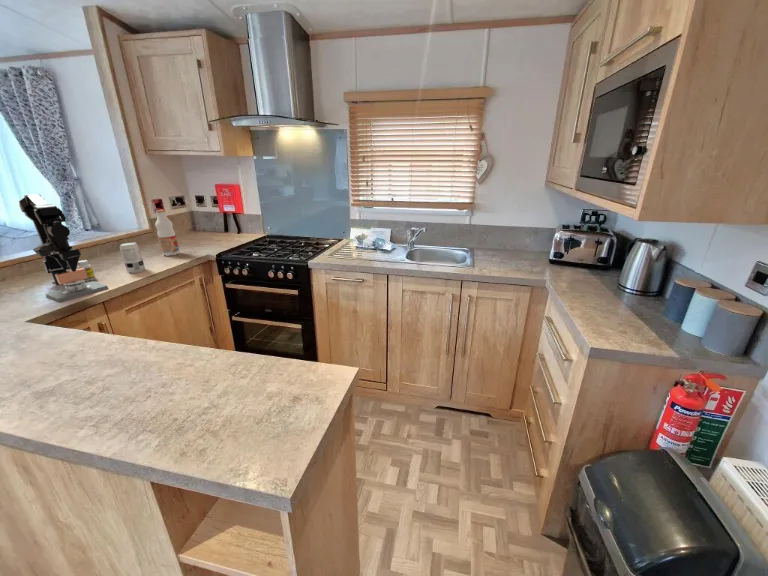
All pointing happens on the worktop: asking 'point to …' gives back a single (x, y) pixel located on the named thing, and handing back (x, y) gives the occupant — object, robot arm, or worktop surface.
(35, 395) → the worktop surface
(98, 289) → the post plate
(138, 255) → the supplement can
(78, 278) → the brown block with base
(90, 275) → the supplement bottle
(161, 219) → the fruit juice
